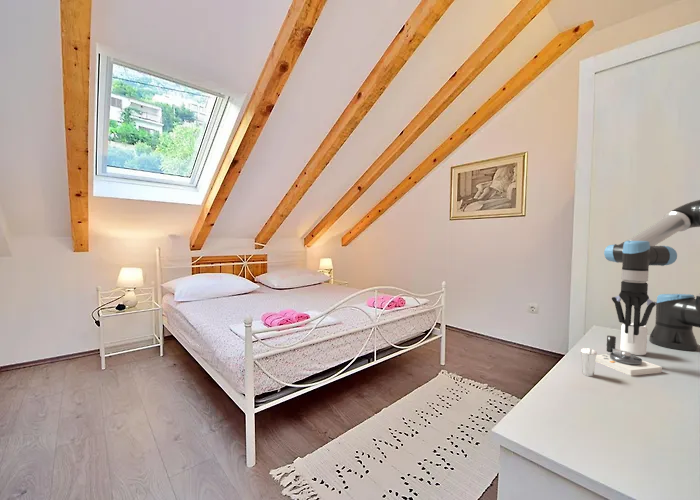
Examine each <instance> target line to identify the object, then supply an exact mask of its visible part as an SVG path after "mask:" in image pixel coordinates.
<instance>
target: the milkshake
mask: <svg viewBox="0 0 700 500" xmlns="http://www.w3.org/2000/svg"><path fill="white" fill-rule="evenodd" d="M597 355H598V353H597V351H596V350H595V349H593V348H588V347H587V348H586V347H583V348H581V349H580V357H581V373H582V375H584V376H586V377H595V369H596V363H597V362H596V357H597Z"/></svg>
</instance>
